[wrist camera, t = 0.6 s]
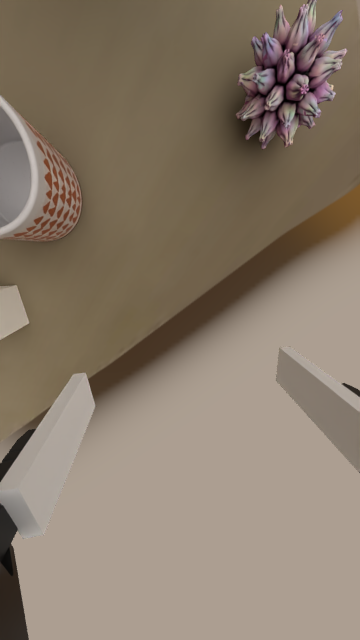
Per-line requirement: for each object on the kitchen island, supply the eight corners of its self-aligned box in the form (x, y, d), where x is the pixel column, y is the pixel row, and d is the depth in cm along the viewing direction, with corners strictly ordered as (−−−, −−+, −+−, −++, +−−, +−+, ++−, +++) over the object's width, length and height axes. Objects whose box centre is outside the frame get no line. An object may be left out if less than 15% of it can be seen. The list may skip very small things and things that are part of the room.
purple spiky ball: (312, 89, 30) (407, -8, 18) (273, 177, 33) (333, 140, 22) (246, 42, 27) (309, -103, 16) (211, 143, 30) (242, 81, 19)
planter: (-30, 203, 30) (-155, 173, 18) (6, 111, 27) (-116, 1, 15) (59, 259, 34) (5, 264, 22) (99, 183, 31) (61, 141, 19)
